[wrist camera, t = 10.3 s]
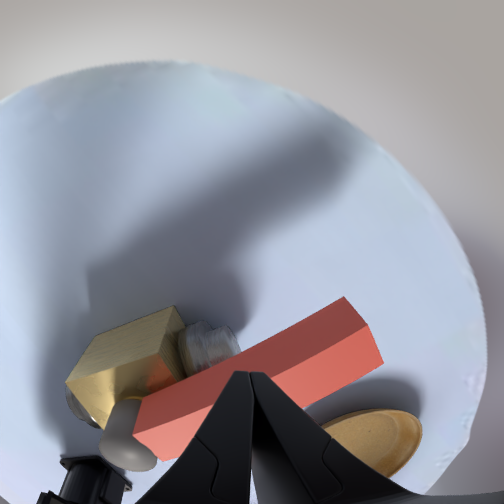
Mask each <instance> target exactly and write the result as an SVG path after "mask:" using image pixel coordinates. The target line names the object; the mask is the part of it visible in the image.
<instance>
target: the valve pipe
mask: <svg viewBox="0 0 504 504" xmlns="http://www.w3.org/2000/svg"><path fill="white" fill-rule="evenodd" d="M239 353H241V350H240V347H239V345H238V342H237V340H236V338H235V336H234V334H233V333H232V331H231V330H230V328H229V327H228V326H227V325H224V326H222V327H219V328H216V329H214V330H213V329H212V328H211V326H210V325H209V324H208V323H207V322H205V321H199V322H197V323H194V324H192V325H189V326H186V327H185V325H184V323H183V321H182V319H181V318H180V316H179V314H178V312H177V310H176V308H175V307H174V305H173V306H171V307H168V308H166V309H163V310H160V311H158V312H155V313H153V314H150V315H148V316H145V317H143V318H140V319H138V320H135V321H132V322H130V323H127V324H125V325H122V326H120V327H117V328H114V329H112V330H109V331H107V332H104V333H101V334H99V335H96V336H95V337H94V338H93V340H92V341H91V343H90V344H89V346H88V347H87V349H86V350H85V352H84V353H83V355H82V356H81V358H80V359H79V361H78V363H77V364H76V366H75V367H74V369H73V370H72V372H71V373H70V375H69V377H68V378H67V380H66V381H65V383H66V399H67V402H68V405H69V407H70V409H71V410H72V412H73V413H74V414H75V416H76V417H78V418H79V419H81V420H83V421H86V422H87V423H88V424H89V425H91V426H92V427H94V428H98V429H103V430H104V428H105V426H106V423H107V421H108V418H109V415H110V413H111V410H112V408H113V406H114V404H115V403H117V402H118V401H121V400H124V399H134V400H139V401H142V399H143V397H146V396H148V395H150V394H153V393H155V392H157V391H160V390H162V389H164V388H167V387H169V386H171V385H173V384H176V383H178V382H180V381H182V380H184V379H187V378H189V377H191V376H193V375H195V374H198V373H200V372H202V371H204V370H206V369H208V368H210V367H212V366H214V365H216V364H219V363H221V362H223V361H225V360H227V359H229V358H231V357H233V356H235V355H237V354H239Z"/></svg>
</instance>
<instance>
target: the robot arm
mask: <svg viewBox="0 0 504 504" xmlns="http://www.w3.org/2000/svg"><path fill="white" fill-rule="evenodd" d="M60 464H61V465H62V466H63V467H64V468H65V469H66V470H67V471H68V472H67V474H66V477H65V480H64V482H63V485H62V487H61V490H60V493H59V495H56V494H54V492H52V491H50V490H49V492H48V493H43V492H41V494H40V496H39V499H38V501H37V503H36V504H121V501H122V496H123V492H126V491H132V486H131V485H130V484H129V483H127V482H126V481H125V480H124V479H123V478H122V477H121V476H120V475H118V474H117V473H116V472H115V471H114V470H113V469H112V468H111V467H110V466H109V465H108V464H107V463H106V462H105V461H104V460H103V459H102V458H100V457H99V456H88V457H79V458H67V459H61V460H60ZM251 469H252V475H253V480H254V485H255V490H256V495H257V500H258V504H504V491H500V492H493V493H484V494H471V495H448V496H428V495H420V494H417V493H414V492H411V491H409V490H407V489H405V488H403V487H401V486H400V485H398V484H397V483H395V482H393V481H392V480H390V479H389V478H387V477H385V476H384V475H382V474H381V473H379V472H378V471H376V470H375V469H373V468H372V467H370V466H369V465H367V464H366V463H364V462H363V461H361V460H360V459H359V458H357V457H356V456H355V455H353V454H352V453H351V452H350V451H348V450H347V449H346V448H345V447H344V446H342V445H341V444H340V443H339V442H338V441H337V440H336V439H334V438H332V436H331V435H330V434H329V433H328V432H326V431H325V430H324V429H323V428H322V427H321V426H320V425H319V424H318V423H317V422H316V421H314V420H313V419H312V418H311V417H310V416H309V415H308V414H307V413H306V412H305V411H304V410H303V409H302V408H301V407H299V406H298V405H297V404H296V403H295V402H294V401H293V400H292V399H291V398H290V397H289V396H288V395H287V394H286V393H285V392H284V391H283V390H282V389H281V388H280V387H279V386H278V385H277V384H276V383H275V382H274V381H273V380H272V379H271V378H270V377H269V376H268V375H267V374H266V373H264V372H258V371H251V372H250V373H249V372H248V371H239V370H235V371H234V372H233V373H232V375H231V377H230V378H229V380H228V382H227V383H226V385H225V387H224V388H223V390H222V392H221V393H220V395H219V397H218V398H217V400H216V401H215V403H214V405H213V406H212V408H211V409H210V411H209V413H208V414H207V416H206V418H205V419H204V421H203V422H202V424H201V425H200V427H199V429H198V430H197V432H196V433H195V435H194V437H193V438H192V439H191V441H190V442H189V444H188V446H187V447H186V448H185V450H184V451H183V453H182V454H181V455H180V457H179V458H178V459H177V461H176V462H175V463H174V464H173V465H172V466H171V467H170V469H169V470H168V471H167V472H166V473H165V474H164V475H163V476H162V477H161V478H160V479H159V480H158V481H157V482H156V483H155V484H154V485H153V486H152V487H151V488H150V489H149V490H148V491H147V492H146V493H145V494H144V495H143V496H142V497H141V498H140V499H139V500H138V501H137V502H136V503H135V504H249V500H250V482H251Z"/></svg>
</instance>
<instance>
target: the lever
mask: <svg viewBox="0 0 504 504" xmlns="http://www.w3.org/2000/svg"><path fill="white" fill-rule="evenodd" d="M382 364H384V362H383V360H382V357H381V355H380V352H379V350H378V348H377V345H376V343H375V340H374V338H373V336H372V333H371V331H370V329H369V326H368V324H367V323H366V322H365V321H364V320H363V318H362V317H361V316H360V315H359V314H358V312H357V311H356V310H355V309H354V308H353V306H352V305H351V304H350V303H349V302H348V301H347V299H346V298H345V297H344V296H343V297H342V298H340V299H338V300H337V301H335V302H333V303H331V304H330V305H328V306H326V307H325V308H323V309H321V310H319V311H318V312H316V313H314V314H312V315H310V316H309V317H307V318H305V319H303V320H301V321H300V322H298V323H296V324H294V325H292V326H291V327H289V328H287V329H285V330H283V331H281V332H279V333H278V334H276V335H274V336H272V337H270V338H268V339H266V340H264V341H262V342H260V343H259V344H257V345H255V346H253V347H251V348H249V349H247V350H245V351H243V352H241V353H239V354H237V355H235V356H233V357H231V358H229V359H227V360H225V361H223V362H221V363H219V364H216V365H214V366H212V367H210V368H208V369H206V370H204V371H202V372H200V373H198V374H195V375H193V376H191V377H189V378H187V379H184V380H182V381H180V382H178V383H176V384H173V385H171V386H169V387H167V388H164V389H162V390H160V391H157V392H155V393H153V394H150V395H148V396H146V397H143V399H142V401H139V400H134V399H124V400H121V401H118V402H117V403H115V404H114V406H113V408H112V410H111V413H110V415H109V418H108V421H107V423H106V426H105V428H104V431H103V434H102V436H101V439H100V442H99V450H100V452H101V454H102V455H103V456H104V457H105V458H106V459H107V460H108V461H109V462H110V463H112V464H114V465H115V466H117V467H120V468H122V469H125V470H129V471H134V472H144V471H148V470H151V469H153V468H154V467H155V466H156V463H157V458H159V459H160V460H162V461H167V460H170V459H173V458H177V457H180V455H181V454H182V453H183V451H184V450H185V448H186V447H187V446H188V444H189V442H190V441H191V439H192V438H193V437H194V435H195V433H196V432H197V430H198V429H199V427H200V425H201V424H202V422H203V421H204V419H205V418H206V416H207V414H208V413H209V411H210V409H211V408H212V406H213V405H214V403H215V401H216V400H217V398H218V397H219V395H220V393H221V392H222V390H223V388H224V387H225V385H226V383H227V382H228V380H229V378H230V377H231V375H232V373H233V372H234V371H235V370H239V371H248V372H249V373H250V372H251V371H258V372H264V373H266V374H267V375H268V376H269V377H270V378H271V379H272V380H273V381H274V382H275V383H276V384H277V385H278V386H279V387H280V388H281V389H282V390H283V391H284V392H285V393H286V394H287V395H288V396H289V397H290V398H291V399H292V400H293V401H294V402H295V403H296V404H297V405H298V406H299V407H301V408H304V407H306V406H308V405H310V404H312V403H314V402H316V401H318V400H320V399H322V398H324V397H326V396H328V395H330V394H331V393H333V392H335V391H337V390H339V389H341V388H343V387H344V386H346V385H348V384H350V383H352V382H353V381H355V380H357V379H359V378H360V377H362V376H364V375H366V374H367V373H369V372H371V371H372V370H374V369H376V368H377V367H379V366H381V365H382Z"/></svg>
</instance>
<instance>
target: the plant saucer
mask: <svg viewBox="0 0 504 504" xmlns="http://www.w3.org/2000/svg"><path fill="white" fill-rule="evenodd" d="M321 427H322V428H323V429H324V430H325V431H326V432H328V433H329V434H330V435H331V436H332V438H334V439H336V440H337V441H338V442H339V443H340V444H341V445H342V446H344V447H345V448H346V449H347V450H348V451H350V452H351V453H352V454H353V455H355V456H356V457H357V458H359V459H360V460H361V461H363V462H364V463H366V464H367V465H369V466H370V467H372V468H373V469H375V470H376V471H378V472H379V473H381V474H382V475H384V476H385V477H387V478H390V477H392V476H393V475H394V474H396V473H397V472H398V471H399V470H400V469H401V468H402V467H404V465H405V464H406V463H407V462H408V461H409V460H410V459H411V458H412V456H413V455H414V453H415V452H416V450H417V448H418V446H419V444H420V442H421V438H422V425H421V423H420V421H419V420H418V418H417V417H415V416H414V415H413V414H411V413H408V412H405V411H401V410H395V409H384V408H380V409H367V410H361V411H356V412H352V413H348V414H345V415H342V416H340V417H337V418H335V419H333V420H331V421H329V422H327V423H325V424H323V425H322V426H321Z"/></svg>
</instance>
